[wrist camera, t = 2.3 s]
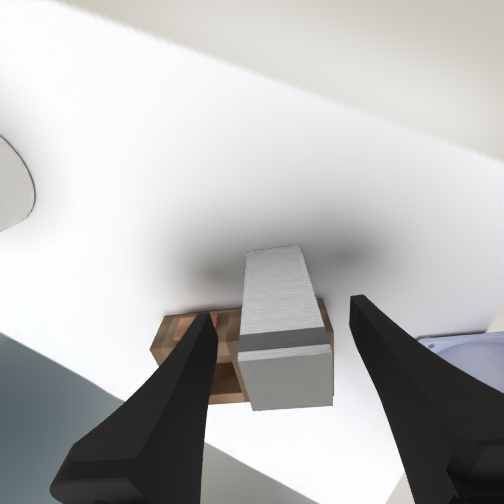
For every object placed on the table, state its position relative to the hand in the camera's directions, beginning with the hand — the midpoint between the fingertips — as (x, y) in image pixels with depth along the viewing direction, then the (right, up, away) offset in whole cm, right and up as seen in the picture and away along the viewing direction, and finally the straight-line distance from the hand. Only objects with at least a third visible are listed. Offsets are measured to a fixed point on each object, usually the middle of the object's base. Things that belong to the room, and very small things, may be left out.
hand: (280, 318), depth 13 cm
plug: (0, +2, +4) cm, 5 cm away
